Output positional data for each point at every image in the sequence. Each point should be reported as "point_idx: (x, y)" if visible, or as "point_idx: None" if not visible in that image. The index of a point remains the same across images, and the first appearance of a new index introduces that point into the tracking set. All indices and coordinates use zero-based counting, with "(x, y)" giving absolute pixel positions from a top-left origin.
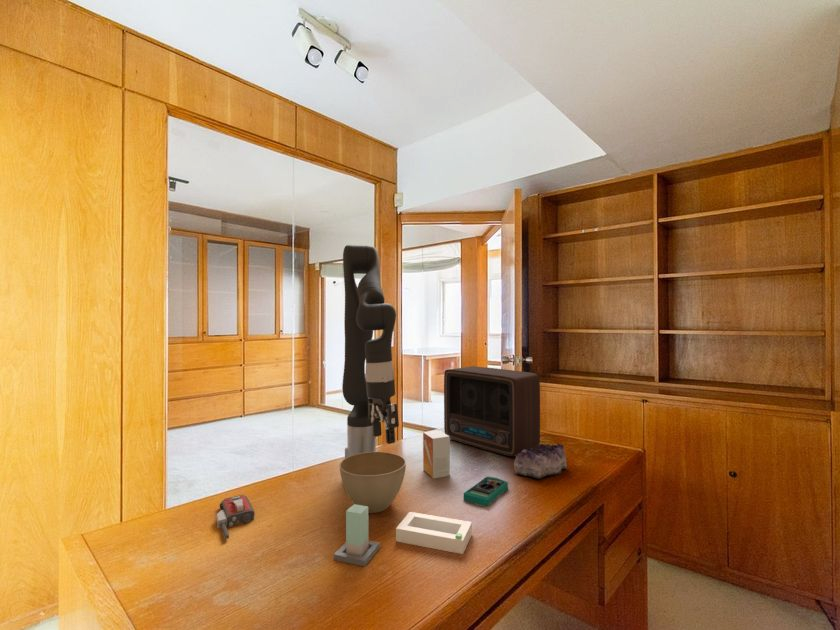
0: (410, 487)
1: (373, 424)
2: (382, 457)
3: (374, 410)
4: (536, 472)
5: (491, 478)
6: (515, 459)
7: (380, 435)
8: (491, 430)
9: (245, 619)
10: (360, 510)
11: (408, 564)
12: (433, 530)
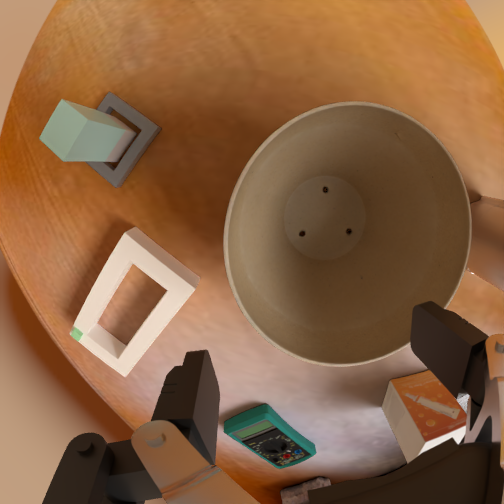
0: None
1: (468, 341)
2: (434, 298)
3: (496, 475)
4: (284, 495)
5: (302, 458)
6: None
7: (410, 341)
8: None
9: (53, 10)
10: (51, 138)
11: (66, 228)
12: (102, 304)
